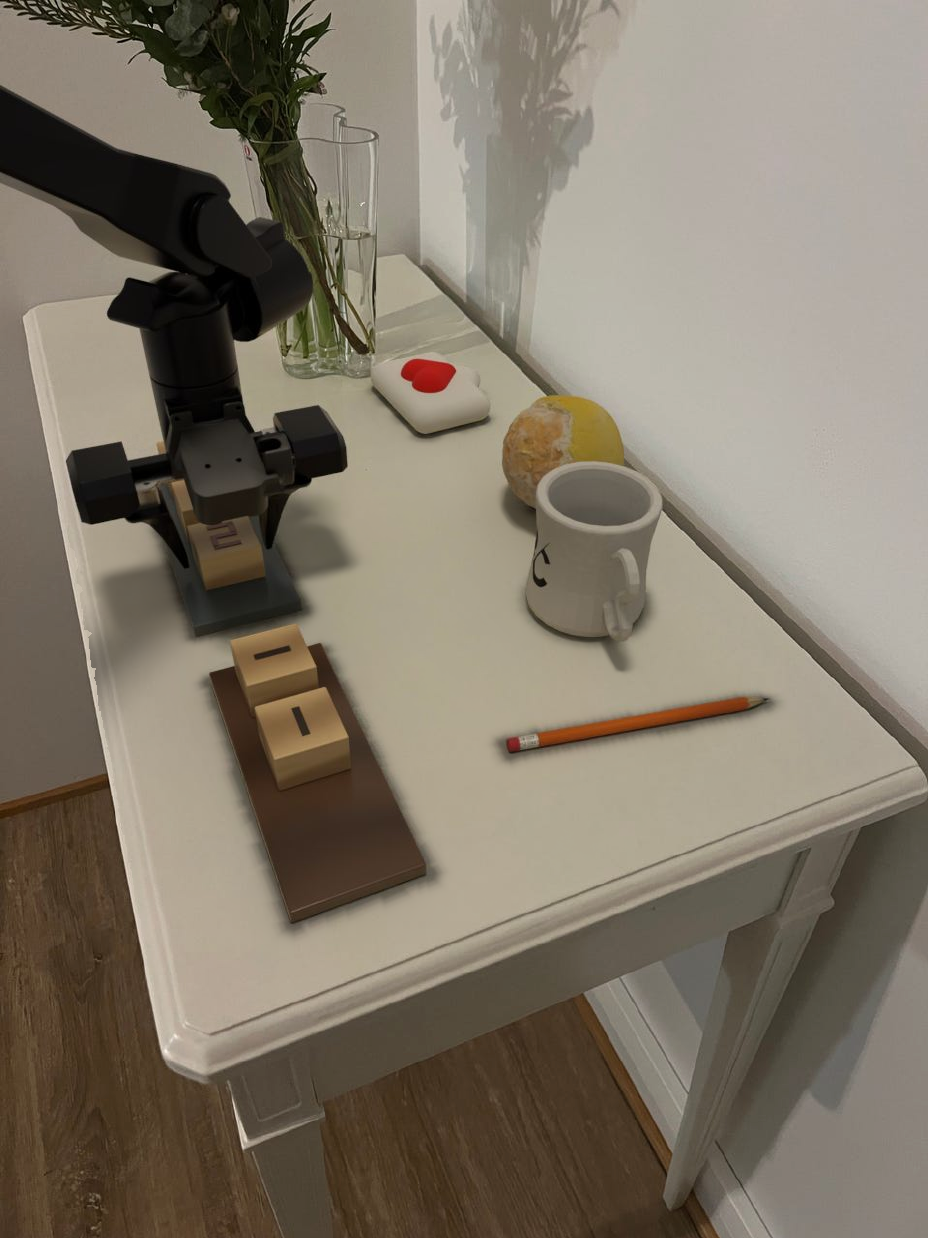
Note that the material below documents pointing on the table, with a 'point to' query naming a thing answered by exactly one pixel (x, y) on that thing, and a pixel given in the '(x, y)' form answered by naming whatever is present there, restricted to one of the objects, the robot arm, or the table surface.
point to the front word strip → (323, 813)
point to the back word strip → (233, 600)
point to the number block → (226, 552)
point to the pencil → (631, 723)
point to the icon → (431, 391)
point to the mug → (592, 548)
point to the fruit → (557, 441)
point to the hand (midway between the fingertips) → (227, 555)
